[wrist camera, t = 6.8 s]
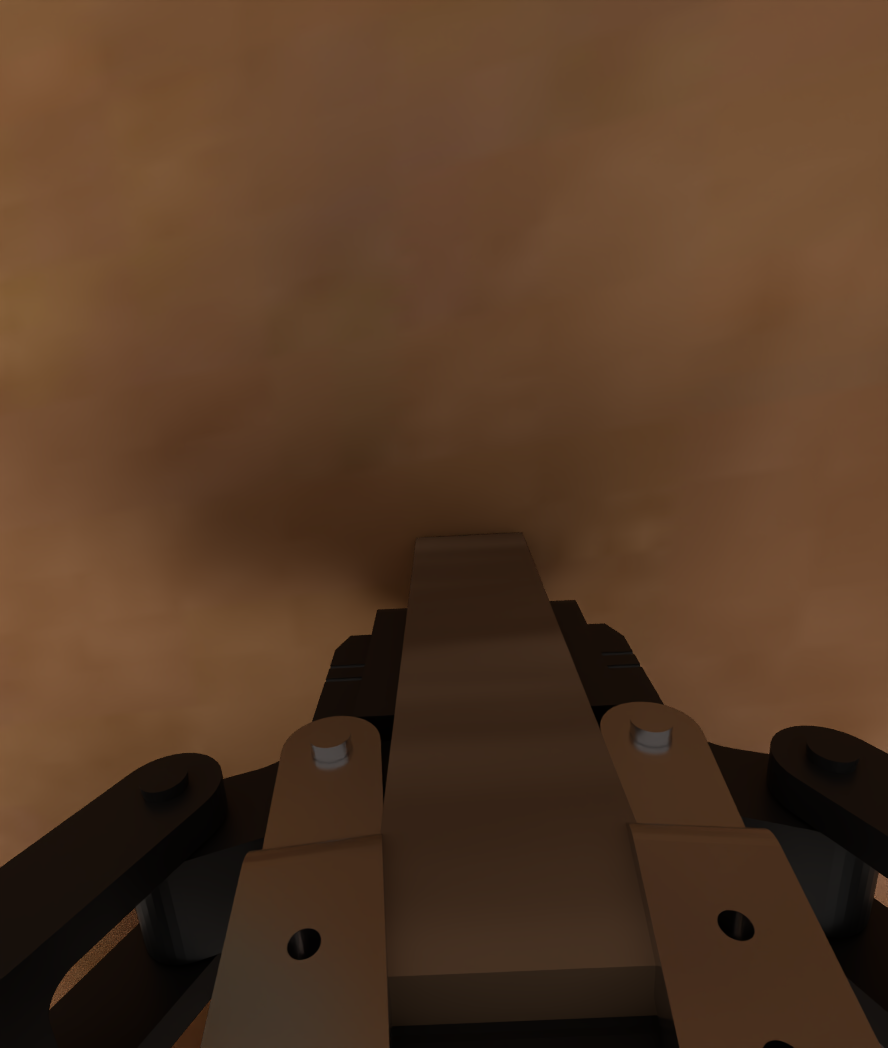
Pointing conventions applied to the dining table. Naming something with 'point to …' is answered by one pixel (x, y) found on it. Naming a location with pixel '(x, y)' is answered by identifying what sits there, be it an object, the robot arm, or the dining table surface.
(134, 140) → the dining table surface
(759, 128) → the dining table surface
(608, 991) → the blade tool
